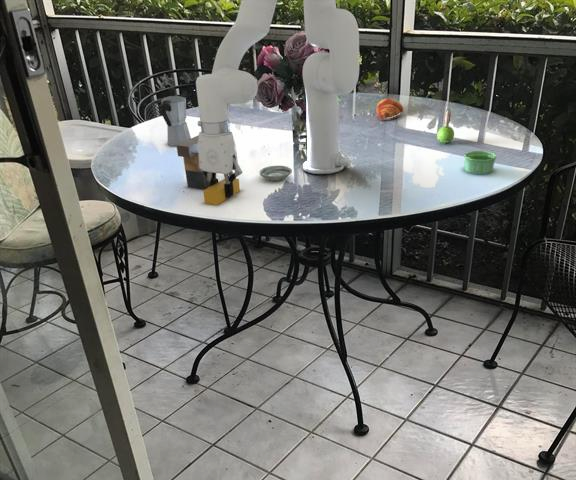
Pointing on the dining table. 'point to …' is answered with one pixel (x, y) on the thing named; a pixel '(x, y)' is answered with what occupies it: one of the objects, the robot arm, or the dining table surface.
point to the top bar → (219, 192)
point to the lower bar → (188, 147)
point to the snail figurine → (446, 129)
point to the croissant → (388, 108)
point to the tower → (195, 173)
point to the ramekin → (479, 162)
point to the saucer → (275, 172)
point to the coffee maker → (175, 118)
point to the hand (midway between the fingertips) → (222, 194)
